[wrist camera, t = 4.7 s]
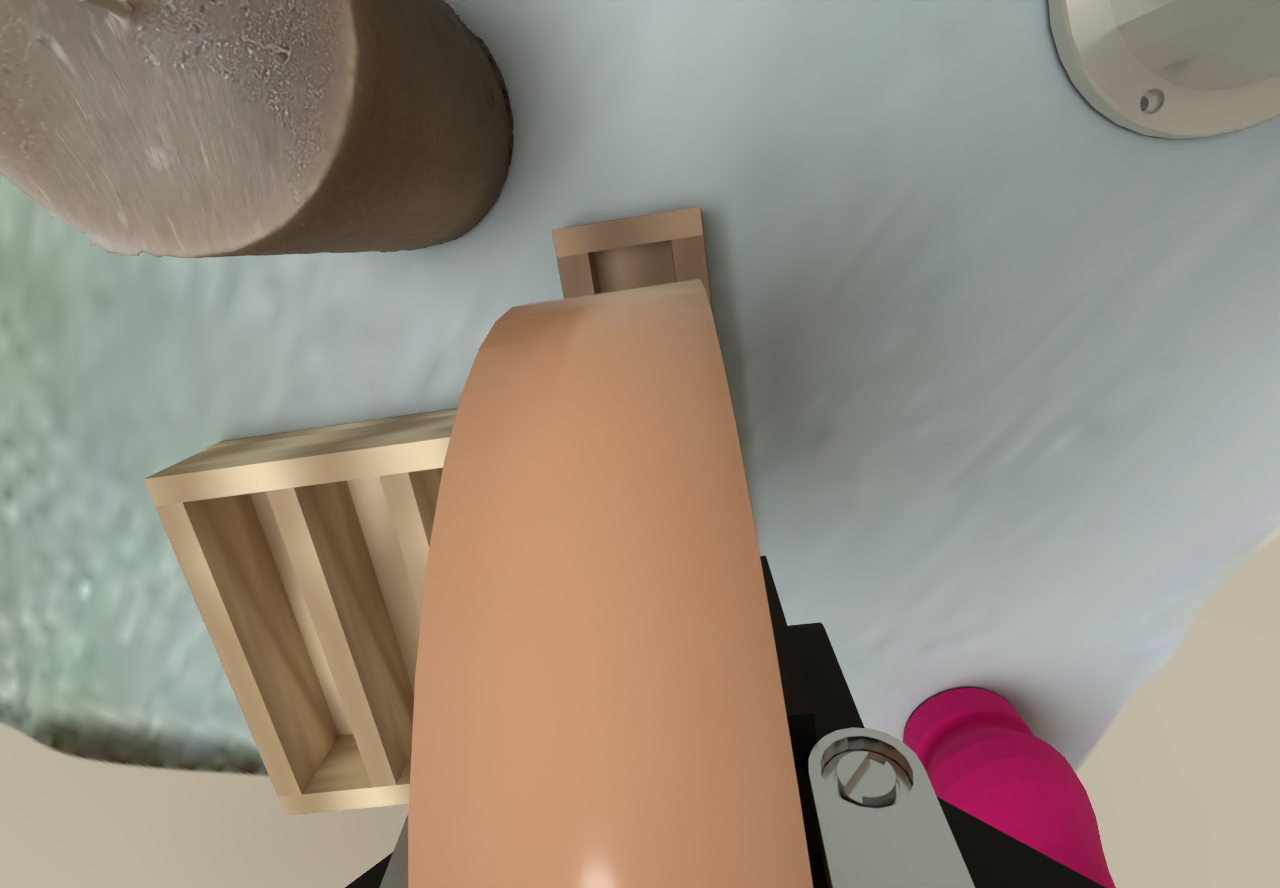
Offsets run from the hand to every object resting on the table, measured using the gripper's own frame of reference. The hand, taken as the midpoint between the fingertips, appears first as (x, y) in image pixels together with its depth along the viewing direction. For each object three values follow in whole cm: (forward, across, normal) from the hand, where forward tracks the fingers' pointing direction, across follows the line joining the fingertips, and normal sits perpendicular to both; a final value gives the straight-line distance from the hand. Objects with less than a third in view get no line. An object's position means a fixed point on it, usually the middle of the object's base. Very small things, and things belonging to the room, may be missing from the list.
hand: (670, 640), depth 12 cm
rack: (+18, +14, +8) cm, 24 cm away
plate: (+5, 0, 0) cm, 5 cm away
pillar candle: (+19, +10, -13) cm, 24 cm away
